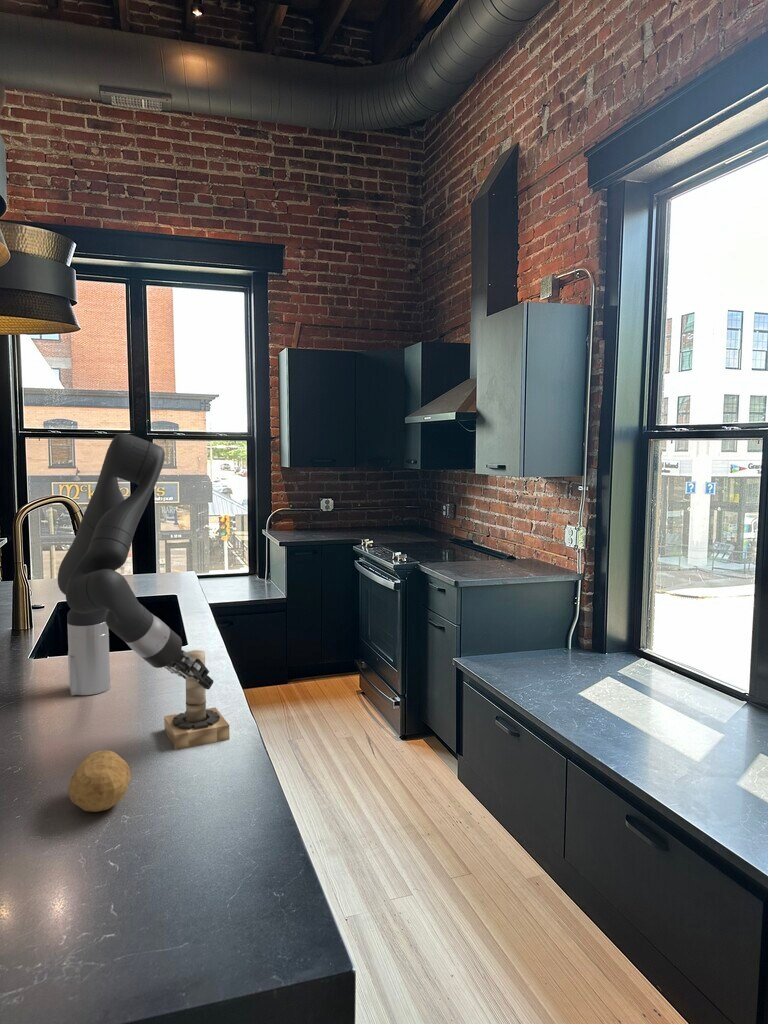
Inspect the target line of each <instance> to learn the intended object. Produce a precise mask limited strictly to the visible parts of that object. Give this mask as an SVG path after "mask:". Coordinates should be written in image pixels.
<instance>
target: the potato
mask: <svg viewBox="0 0 768 1024" xmlns="http://www.w3.org/2000/svg"><path fill="white" fill-rule="evenodd" d="M131 774H132V773H131V769H130V767H129V765H128V763H127V762H126V761H125V760H124V759H123V758H122V757H121V756H120V755H119V754H117V753H116V752H114V751H112V750H106V749H104V750H98V751H94V752H92V753H90V754H88V755H87V756H85V757H84V758H83V760H82V761H81V762H80V763H79V765H78V766H77V768H76V769H75V771H74V772H73V775H72V777H71V778H70V782H69V784H68V790H67V791H68V794H69V799H70V800H71V802H72V803H73V804H75V805H76V806H78V808H80V809H81V810H82V811H85V812H94V813H97V812H102V811H106V810H109V809H111V808H112V807H114V806H115V805H116V804H117V803H119V802H120V801H121V800H123V799H124V798H125V796H126V794H127V791H128V787H129V784H130V781H131V780H132V777H131Z"/></svg>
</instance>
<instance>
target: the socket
mask: <svg viewBox="0 0 768 1024" xmlns="http://www.w3.org/2000/svg"><path fill="white" fill-rule="evenodd" d="M163 717H164V718H163V720H164V721H163V723H164V732H165V733H166V735H167V737H168V739H169V741H170V742H171V744H172V747H173V748H174V750H176V749H177V750H181V748H182V749H186V747H187V748H192V747H197V746H201V745H206V744H211V743H216V742H222V741H228V740H230V724H229V723H228V722H227V720H226V719H225V717H224V716H223V715H222V713H221V712H220V711H219V710H218V708H217V707H211V708H209V707H208V708H206V719H204V720H202V721H199V722H189V721H187V720H186V710H185V711H184V712H180V713H175V714H174V713H173V714H169V715H164V716H163Z"/></svg>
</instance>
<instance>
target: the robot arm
mask: <svg viewBox="0 0 768 1024" xmlns="http://www.w3.org/2000/svg"><path fill="white" fill-rule="evenodd" d="M165 454H166V453H165V449H164V448H163V447H162V446H160V445H159V444H157V443H154V442H151V441H149V440H145V439H143V438H140V437H138V436H135V435H132V434H128V433H124V432H119V433H118V434H115V435H114V437H113V438H112V440H111V441H110V444H109V446H108V448H107V451H106V453H105V456H104V460H103V463H102V465H101V469H100V472H99V477H98V480H97V482H96V486H95V489H94V491H93V492H92V496H91V497H90V500H89V502H88V504H87V506H86V507H85V510H84V513H83V515H82V518H81V521H80V524H79V528H78V529H77V531H76V532H77V533H76V534H75V536H74V539H73V541H72V543H71V545H70V546H69V548H68V551H67V552H66V554H65V555H64V557H63V559H62V561H61V563H60V565H59V568H58V572H57V586H58V588H59V591H61V593H62V594H63V595H65V601H66V603H67V605H68V607H69V608H70V610H69V611H68V612H67V615H66V618H67V619H66V620H67V621H66V622H67V623H66V624H67V645H68V651H67V661H68V665H67V666H68V668H67V669H68V687H69V688H68V689H69V693H70V696H90V695H96V694H101V693H104V692H106V691H108V690H109V689H110V688H111V664H110V637H109V636H110V633H109V630H110V631H111V632H112V633H114V634H115V635H116V636H117V637H118V638H120V639H121V640H122V641H123V642H125V644H127V646H128V647H129V648H130V649H131V650H132V651H133V652H135V653H136V654H137V655H138V656H139V657H141V658H142V659H143V660H144V661H145V662H147V663H148V664H149V665H150V666H151V667H153V668H157V669H161V668H164V669H165V670H167V671H169V672H170V673H171V674H176V675H177V676H178V677H181V678H182V679H184V680H185V681H186V677H191V678H192V679H194V680H195V681H196V682H198V683H199V684H200V685H202V686H203V687H204V688H205V689H206V690H210V689H211V687H212V685H213V684H214V683H215V682H214V680H213V678H212V677H211V676H209V675H208V674H210V670H209V669H208V667H206V664H205V665H204V664H203V663H202V662H201V661H200V659H196V660H194V659H192V658H191V657H190V656H189V654H188V653H187V652H188V651H187V652H186V651H185V650H184V649H183V641H182V638H181V636H180V635H178V634H177V633H176V632H175V631H174V630H172V629H171V628H170V626H168V625H167V624H166V623H165V622H164V621H162V619H160V618H159V617H158V616H156V615H154V614H153V613H152V612H150V611H149V610H148V609H147V608H146V607H145V606H144V605H143V604H141V603H140V602H139V600H138V599H137V596H136V594H135V593H134V591H133V590H132V587H131V586H130V584H129V582H128V581H127V579H126V578H125V576H123V575H122V574H121V573H120V572H118V571H117V570H118V569H120V568H121V567H123V565H125V564H126V561H127V560H128V556H129V552H130V549H131V546H132V543H133V539H134V536H135V532H136V530H137V528H138V525H139V522H140V520H141V518H142V516H143V514H144V512H145V510H146V508H147V506H148V503H149V501H150V498H151V496H152V494H153V492H154V489H155V488H156V485H157V483H158V479H159V477H160V475H161V473H162V470H163V465H164V461H165V456H166V455H165ZM118 479H121V480H124V481H127V482H130V483H132V484H136V485H137V487H136V489H135V490H134V491H133V493H131V494H130V495H129V496H128V497H126V498H125V497H124V495H123V493H122V490H121V489H120V486H119V485H120V484H119V482H118ZM189 667H190V668H189ZM188 668H189V670H188ZM187 670H188V671H187ZM186 671H187V672H186ZM193 674H194V675H193Z"/></svg>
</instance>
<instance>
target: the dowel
mask: <svg viewBox="0 0 768 1024" xmlns="http://www.w3.org/2000/svg"><path fill="white" fill-rule="evenodd" d="M187 653H188V654H189V656H190V657H191V658H192V659H194V660H196V659H200V661H201V662H202V663H203V664H204V665H205V666H206V652H205V651H204V650H200V649H198V650H195V649H193V650H189V651H187ZM189 668H190V667H189ZM189 668H188V670H189ZM188 670H187V671H188ZM187 671H186V672H187ZM193 675H194V674H193ZM206 690H207V689H205V688H204V687H203V686H202V685H200V684H199V683H198V682H196V681H195V680H194V679H192V678H191V677H186V680H185V711H186V720H187V721H189V722H199V721H202V720H204V719H206V709H207V697H206V696H207V695H206V693H207V692H206Z"/></svg>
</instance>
